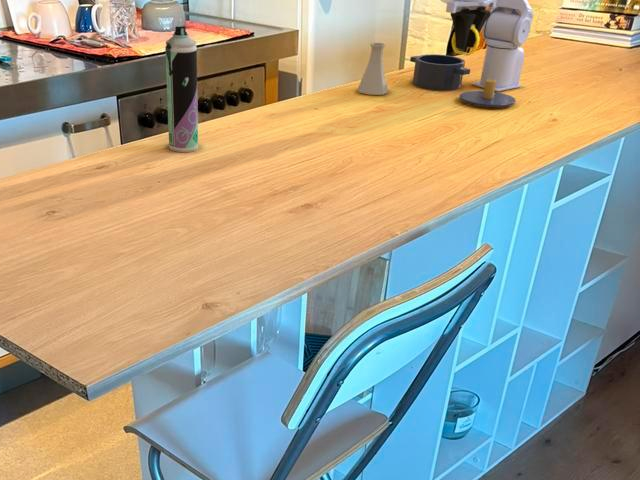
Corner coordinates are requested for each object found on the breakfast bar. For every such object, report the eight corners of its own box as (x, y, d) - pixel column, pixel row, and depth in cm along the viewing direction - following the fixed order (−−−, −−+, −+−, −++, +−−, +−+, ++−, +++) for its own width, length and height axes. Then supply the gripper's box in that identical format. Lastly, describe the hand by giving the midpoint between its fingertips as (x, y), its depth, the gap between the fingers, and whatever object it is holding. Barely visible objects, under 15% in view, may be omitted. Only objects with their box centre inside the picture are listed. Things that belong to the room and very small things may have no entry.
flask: (386, 97, 187) (392, 48, 181) (355, 94, 188) (360, 45, 182) (389, 89, 193) (394, 42, 186) (358, 87, 194) (363, 39, 187)
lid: (480, 93, 193) (484, 71, 190) (525, 104, 186) (530, 82, 183) (447, 100, 186) (451, 78, 183) (492, 113, 179) (497, 90, 176)
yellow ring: (448, 53, 183) (453, 23, 179) (452, 51, 185) (457, 21, 181) (473, 57, 181) (479, 26, 177) (478, 55, 183) (483, 24, 179)
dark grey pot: (426, 75, 206) (430, 50, 202) (479, 89, 196) (483, 63, 192) (394, 80, 200) (397, 55, 197) (447, 95, 190) (451, 69, 187)
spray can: (187, 154, 150) (183, 30, 137) (163, 148, 152) (158, 26, 139) (203, 147, 154) (202, 25, 141) (180, 141, 156) (177, 21, 143)
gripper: (469, -20, 167) (457, 54, 176) (513, -25, 174) (499, 47, 183) (443, -25, 171) (432, 48, 180) (487, -29, 179) (474, 41, 187)
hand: (464, 47), depth 182 cm, fingers closed on yellow ring, 2 cm apart
